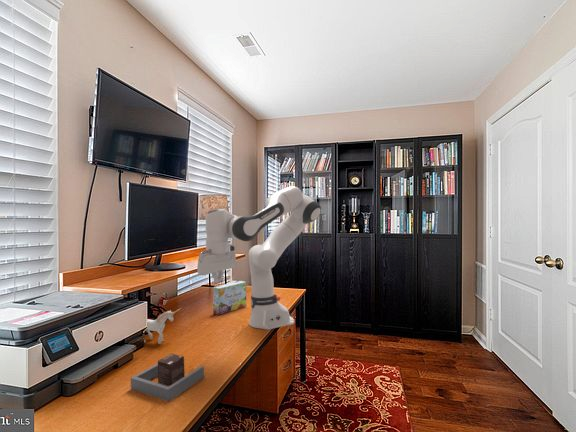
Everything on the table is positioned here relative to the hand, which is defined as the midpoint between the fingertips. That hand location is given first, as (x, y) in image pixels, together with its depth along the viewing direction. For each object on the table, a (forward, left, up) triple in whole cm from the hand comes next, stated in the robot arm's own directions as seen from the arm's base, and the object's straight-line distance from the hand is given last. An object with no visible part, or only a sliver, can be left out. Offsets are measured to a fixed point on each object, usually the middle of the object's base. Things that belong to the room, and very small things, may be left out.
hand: (217, 282), depth 126 cm
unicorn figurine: (+24, -20, -27) cm, 41 cm away
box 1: (+18, +19, -27) cm, 38 cm away
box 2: (+18, +20, -27) cm, 38 cm away
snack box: (-12, -52, -27) cm, 60 cm away
